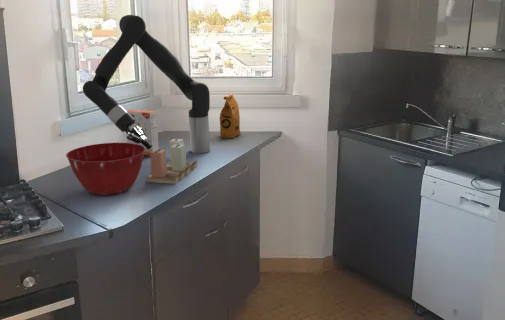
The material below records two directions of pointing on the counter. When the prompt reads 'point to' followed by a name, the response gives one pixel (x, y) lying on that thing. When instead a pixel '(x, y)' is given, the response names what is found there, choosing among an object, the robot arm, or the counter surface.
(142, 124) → the cracker box
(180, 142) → the grey rectangular block
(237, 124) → the coffee package
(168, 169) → the board
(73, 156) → the mixing bowl
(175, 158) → the grey green block
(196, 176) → the counter surface
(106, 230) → the counter surface
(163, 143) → the counter surface
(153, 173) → the key
